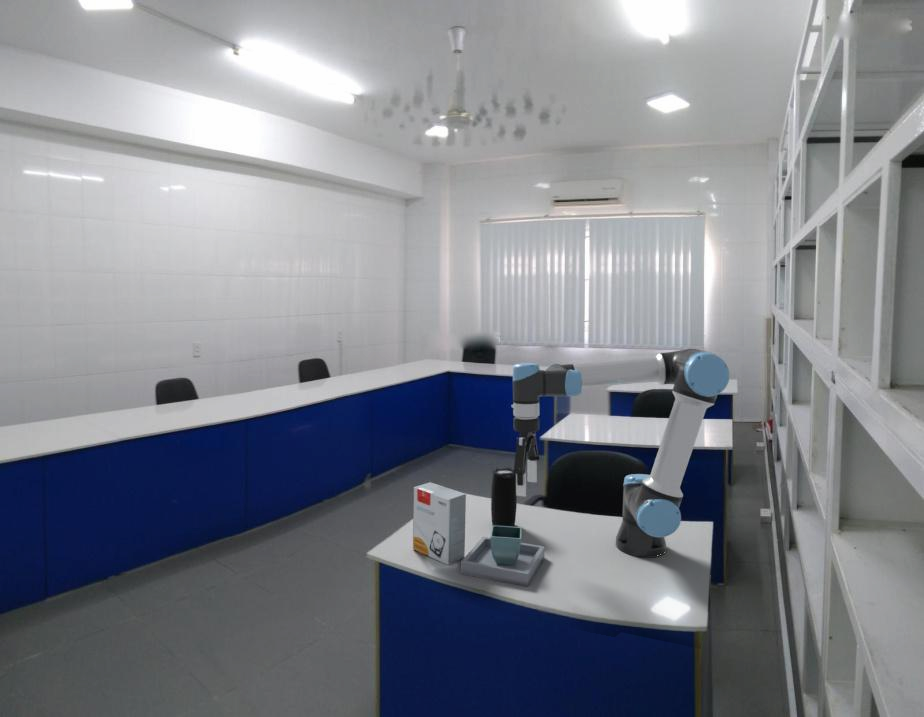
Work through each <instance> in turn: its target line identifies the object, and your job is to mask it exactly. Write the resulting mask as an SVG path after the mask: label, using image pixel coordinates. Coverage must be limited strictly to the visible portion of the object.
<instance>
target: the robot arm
mask: <svg viewBox="0 0 924 717" xmlns="http://www.w3.org/2000/svg"><path fill="white" fill-rule="evenodd" d="M729 381H730V369H729V367H728V365H727V363H726V362H725V360H724V359H723V358H721V356H719V355H716V354H715V353H712V352H710V351H704V350H700V349H696V348H687V349H681V350H675V351H669V352H658V353H657V354H656V355H655V356H649V357H640V358H628V359H627V358H626V359H617V360H616V359H615V360H603V361H592V362H581V363H580V362H578V363H567V364H560V363H554V364H553V363H552V364H550V365H549V366H547V367H546V368H545V370H543V369H541V368H540V365H539V364H538V363H535V362H534V363H533V362H520V363H516V364H514V366H513V369H512V403H513V404H511V408H512V409H513V410H512V413H513V416H514V417H513V419H512V422H513V423H512V424H513V425H512V426H513V427H512V428H513V431H515V432H519V436H518V437H516V440H515V441H516V443H515V444H516V448H515V457H514V466H513V469H514V470H513V473H515V474H516V496H517V497H525V498H526V496H527V482H529V483H537V482H538V479H537V478H538V475H537V474H538V471H537V470H538V466H537V465H538V464H537V461H540V456H539V448H538V442H537V436H536V435H537V433H536V432H538V431H539V430H540V418H539V416H540V414H541V413H540V397H568V398H570V397H576V396H580V395H581V394H582V391H583V388H592V387H593V388H594V387H605V386H606V387H607V386H617V385H619V386H620V385H633V384H634V385H635V384H643V383H645V384H646V383H658V384H660V385H661V386H662V385H673V388H672V394H673V396H674V401H673V406H672V407H671V408H672V409H671V411H670V414H669V416H668V420H667V424H666V427H665V430H664V433H663V436H662V439H661V442H660V445H659V448H658V451H657V453H656V457H655V459H654V463H653V466H652V468H651V472H650V474H647V473H646V474H643V473H635V474H634V473H631V474H628V475H626V476H625V477H624V478H623V479H624V480H623V485H622V486H623V493H622V494H623V496H622V520H621V522H620V526H619V528H618V531H617V534H616V537H615V546H616V547H617V549H618V550H620V551H621V552H623V553H625V554H628V555H631V554H632V555H631V556H636V557H640V556H643V557H642V558H651V557H650V556H656V557H658V556H657V555H660V554H663V553H664V552H665V551H666V550H667V543H666V539H665V537H668V536H671V535H673V534H674V533H675V532H676V531H677V530H678V528H679V527H680V525H681V521H682V515H681V514H682V513H681V510H680V506H681V503H682V500H683V497H684V494H683V492H682V490H681V485H682V482H683V478H684V476H685V473H686V470H687V467H688V464H689V461H690V458H691V456H692V452H693V450H694V446H695V445H696V444H695V443H696V441H697V437H698V436H699V432H700V429H701V426H702V422H703V421H704V417H705V414H706V412H707V409H708V408H710V407H712V406H714V405H715V403H716V400H717V397H718V395H719V394H721V393H722V392H723V391H724V390H725V389H726V388H727V387H728V385H729ZM526 466H527V467H526ZM526 472H527V473H526ZM666 552H667V551H666ZM666 552H665V553H666ZM665 553H664V554H665ZM664 554H663V555H664ZM660 556H661V555H660Z"/></svg>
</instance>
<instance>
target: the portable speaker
mask: <svg viewBox="0 0 924 717" xmlns="http://www.w3.org/2000/svg"><path fill="white" fill-rule="evenodd" d="M513 470H514V467H505V468H503V467H502V468H497V467H494V468H493V470H492V480H491V491H490V492H491V495H490V498H491V499H490V502H491V503H490V512H491V513H490V514H491V523H492V524H491V525H492V526H509V527H516V526H515V523H516V517H517V516H516V515H517V499H518V498H517V497H518V496H516V474H515V473H513ZM492 526H491V527H492Z"/></svg>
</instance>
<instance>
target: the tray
mask: <svg viewBox="0 0 924 717" xmlns="http://www.w3.org/2000/svg"><path fill="white" fill-rule="evenodd" d="M545 550H546V549H545V546H543V545H537V544H533V543H532V544H531V543H526V542H525V543H524V542H521V545H520V552H519V556H518V559H517V561H516V562H515V564H514V565H506V564H497V563H496V562H495V560H494V558H493V556H492V551H491V538H490V537H489V536H488V537H487V536H483V537H481V539H480V540H479V541H478V542H476V544H475V545H474V546H473V548H471V549H470V551H469V552H468V553H467V554H466V556H465V557H464V558H462V559H461V561H460V575H465V574H466V576H470V575H471V577H475V576H477V577H476V578H480V577H482V579H486V578H487V580H491V579H492V580H493V581H496V580H498V582H502V581H503V583H507V582H508V584H512V583H513V584H514V585H517V584H518V585H517V586H523V585H524V586H523V587H529V585H530V583H531V582H532V580H533V578H534V577H533V576H535V575H536V573H537V571H538V570H539V568H540V566H541V564H542V563H543V561H544V559H545ZM542 560H543V561H542ZM541 562H542V563H541ZM492 580H491V581H492Z"/></svg>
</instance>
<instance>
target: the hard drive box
mask: <svg viewBox="0 0 924 717" xmlns="http://www.w3.org/2000/svg"><path fill="white" fill-rule="evenodd" d="M466 502H467V494H466V493H463V492H461V491H458V490H456V489H452V488H449V487H445V486H443V485H440V484H436V483H433V482H431V481H430V482H426V483H423V484H420V485H416V486H414V487H413V506H412V507H413V509H412V510H413V511H412V514H413V515H412V520H413V521H412V526H413V528H412V550H414V551H416V552H418V553H420V554H423V555H426V556H428V557H430V558H431V559H434V560H436V561H437V560H438V561H437V562H439V561H440V563H442V564H445V565H448V566H449V565H451V564H453V563H455V562H458V561H460V560H463V559H464V558H465V557H466V556H465V552H466V550H465V549H466V548H465V547H466V544H465V543H466V510H467V509H466V506H467V505H466V504H467V503H466Z"/></svg>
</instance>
